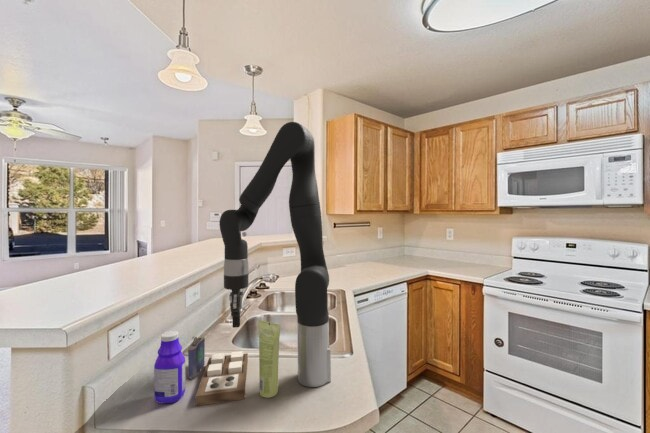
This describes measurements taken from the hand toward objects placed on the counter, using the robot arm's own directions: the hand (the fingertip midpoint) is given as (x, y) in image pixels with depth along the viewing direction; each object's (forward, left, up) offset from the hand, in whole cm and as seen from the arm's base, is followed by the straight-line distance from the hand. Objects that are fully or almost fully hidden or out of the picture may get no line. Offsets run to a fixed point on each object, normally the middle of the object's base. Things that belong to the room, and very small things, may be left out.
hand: (236, 326), depth 92 cm
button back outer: (+6, 0, -11) cm, 13 cm away
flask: (+12, 0, -13) cm, 18 cm away
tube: (-10, +16, -13) cm, 23 cm away
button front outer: (+6, +6, -11) cm, 14 cm away
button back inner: (0, 0, -11) cm, 11 cm away
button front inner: (0, +6, -11) cm, 13 cm away
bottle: (+16, +12, -13) cm, 24 cm away
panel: (+3, +7, -13) cm, 15 cm away
